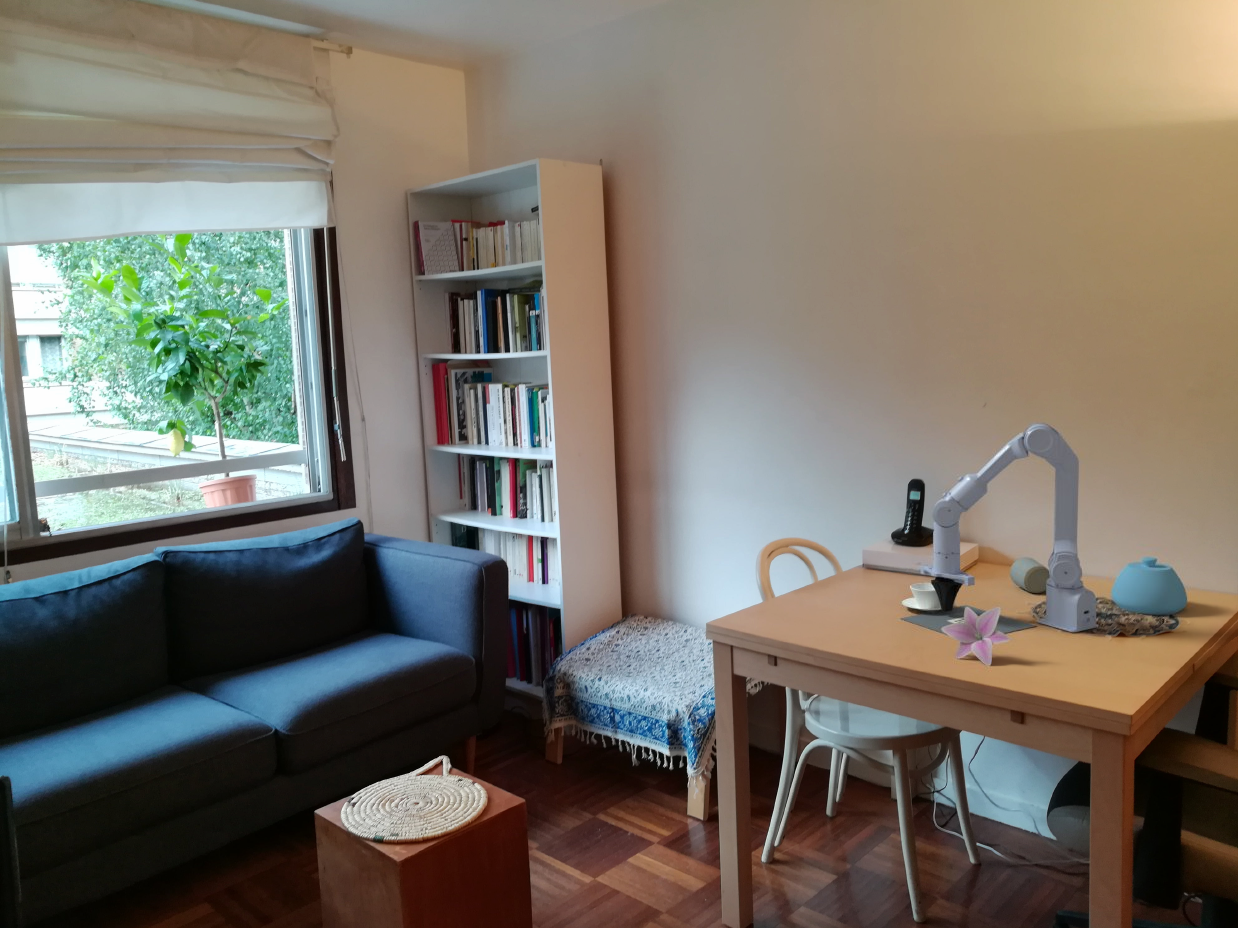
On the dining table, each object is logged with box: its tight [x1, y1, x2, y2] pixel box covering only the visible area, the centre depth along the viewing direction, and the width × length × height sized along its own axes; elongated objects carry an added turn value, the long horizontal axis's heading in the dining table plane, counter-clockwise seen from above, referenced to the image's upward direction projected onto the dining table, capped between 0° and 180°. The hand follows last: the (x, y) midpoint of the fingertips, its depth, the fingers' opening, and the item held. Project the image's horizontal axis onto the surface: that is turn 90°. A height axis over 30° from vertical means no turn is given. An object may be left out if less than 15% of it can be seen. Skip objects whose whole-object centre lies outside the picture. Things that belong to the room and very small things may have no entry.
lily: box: [941, 606, 1012, 667], centre depth 181 cm, size 12×12×10 cm
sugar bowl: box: [1110, 556, 1188, 616], centre depth 209 cm, size 15×15×12 cm
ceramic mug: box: [1009, 556, 1050, 594], centre depth 227 cm, size 11×8×8 cm
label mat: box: [900, 604, 1037, 636], centre depth 204 cm, size 20×20×1 cm
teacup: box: [901, 582, 957, 612], centre depth 215 cm, size 12×12×5 cm
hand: (946, 610), depth 209 cm, fingers closed
